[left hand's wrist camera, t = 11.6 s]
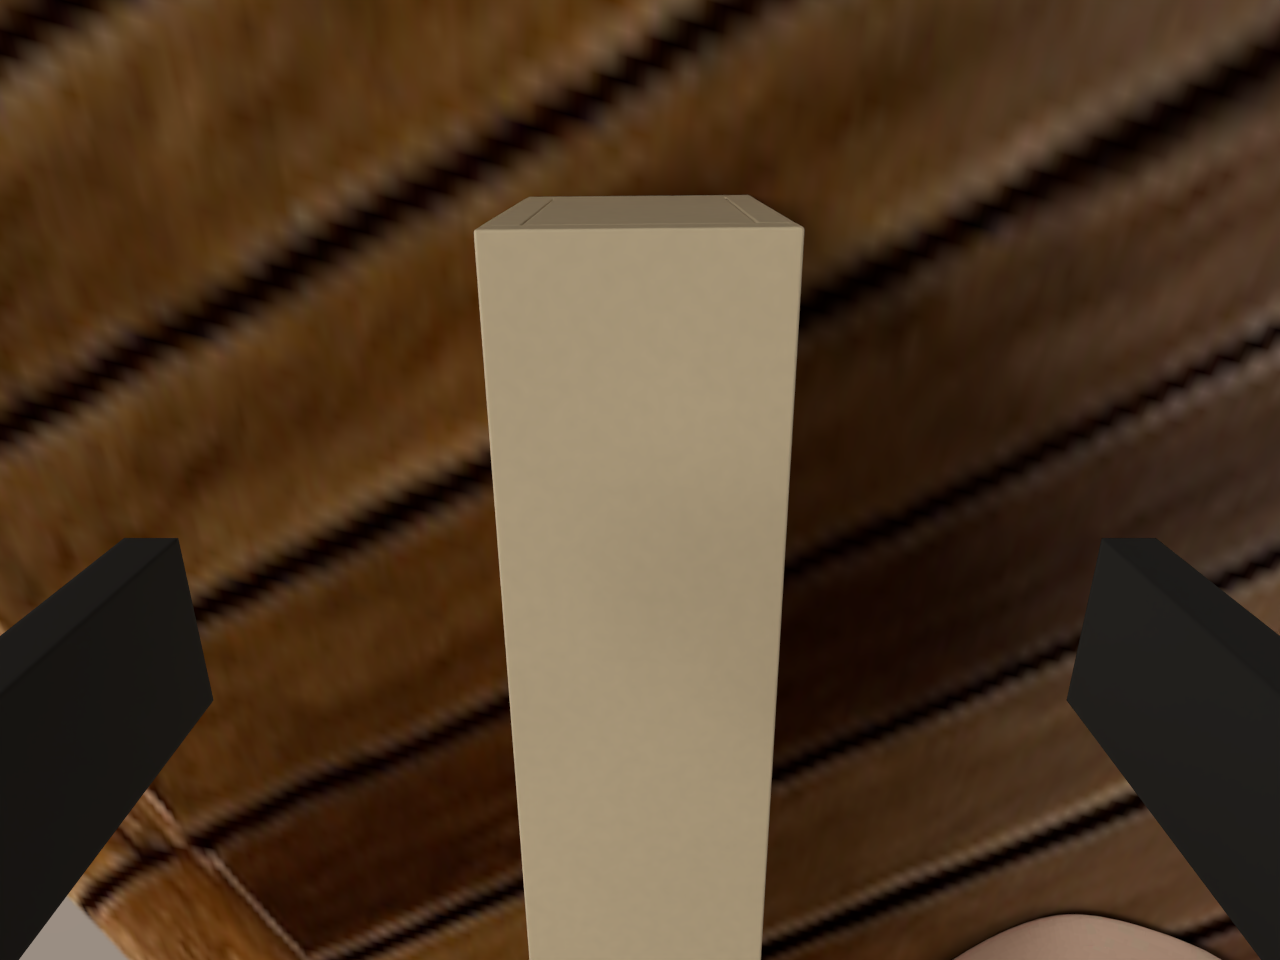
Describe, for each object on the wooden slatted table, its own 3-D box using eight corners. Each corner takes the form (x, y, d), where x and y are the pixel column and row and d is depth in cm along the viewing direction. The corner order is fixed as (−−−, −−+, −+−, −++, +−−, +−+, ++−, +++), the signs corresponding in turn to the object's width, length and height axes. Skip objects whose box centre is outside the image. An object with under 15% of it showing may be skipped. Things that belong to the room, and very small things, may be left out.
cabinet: (729, 769, 34) (759, 985, 26) (558, 770, 34) (531, 986, 26) (750, 194, 26) (805, 226, 18) (527, 196, 26) (472, 229, 18)
